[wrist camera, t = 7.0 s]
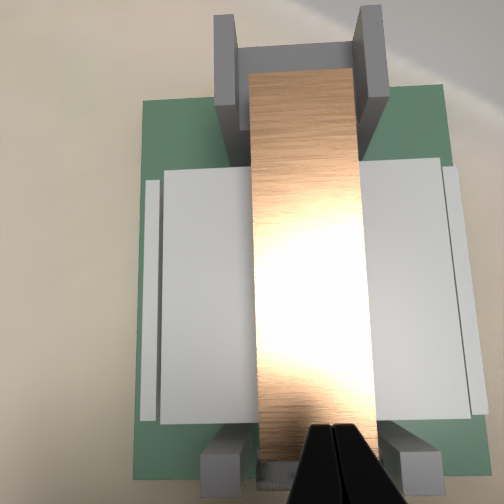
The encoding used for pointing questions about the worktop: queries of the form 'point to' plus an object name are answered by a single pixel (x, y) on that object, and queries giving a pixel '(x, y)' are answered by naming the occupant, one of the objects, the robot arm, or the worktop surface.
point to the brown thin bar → (308, 266)
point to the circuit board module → (243, 278)
